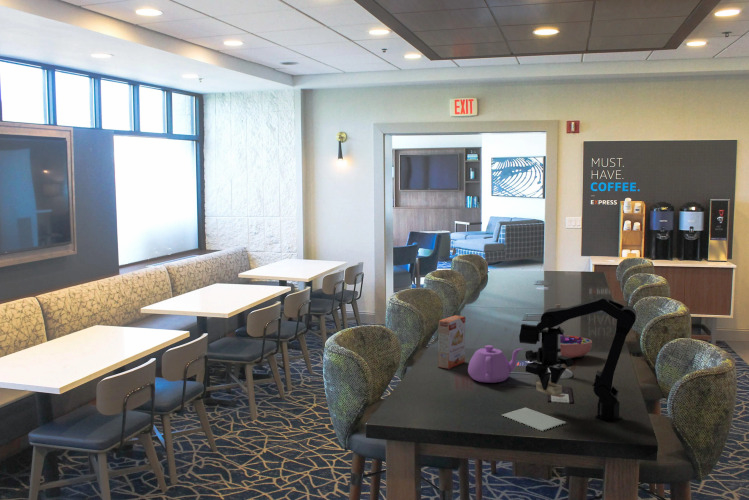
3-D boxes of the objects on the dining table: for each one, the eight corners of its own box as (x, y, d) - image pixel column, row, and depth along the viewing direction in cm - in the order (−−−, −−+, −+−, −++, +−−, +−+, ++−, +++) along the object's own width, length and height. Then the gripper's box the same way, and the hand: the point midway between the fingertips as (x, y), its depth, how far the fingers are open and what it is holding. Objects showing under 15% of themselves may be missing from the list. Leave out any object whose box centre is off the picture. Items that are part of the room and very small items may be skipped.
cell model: (596, 362, 302) (597, 337, 301) (551, 363, 302) (551, 338, 301) (585, 352, 319) (586, 328, 318) (542, 352, 319) (542, 329, 318)
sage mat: (566, 423, 231) (566, 422, 231) (541, 431, 224) (541, 430, 224) (525, 408, 246) (525, 407, 246) (501, 416, 239) (501, 414, 239)
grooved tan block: (561, 393, 241) (561, 385, 240) (554, 396, 238) (554, 387, 238) (543, 388, 247) (544, 379, 247) (536, 390, 245) (536, 381, 244)
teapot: (522, 389, 268) (522, 354, 266) (466, 386, 272) (466, 352, 271) (521, 372, 289) (522, 340, 288) (469, 370, 294) (469, 338, 292)
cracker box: (449, 369, 295) (449, 321, 292) (437, 367, 298) (437, 320, 296) (465, 362, 306) (465, 316, 303) (454, 360, 309) (454, 314, 307)
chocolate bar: (571, 386, 268) (573, 402, 250) (571, 389, 268) (573, 404, 251) (547, 385, 270) (547, 400, 253) (547, 387, 270) (547, 403, 253)
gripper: (549, 337, 253) (548, 378, 254) (514, 345, 242) (513, 388, 244) (574, 343, 244) (573, 385, 245) (538, 351, 233) (537, 396, 235)
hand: (549, 388), depth 243 cm, fingers closed on grooved tan block, 4 cm apart
